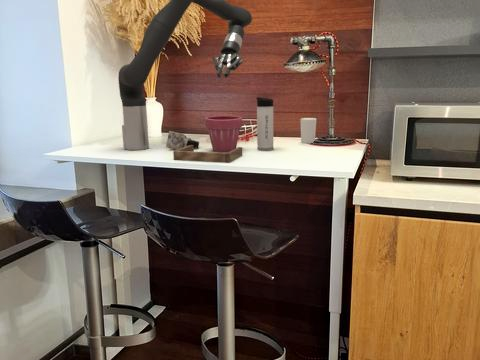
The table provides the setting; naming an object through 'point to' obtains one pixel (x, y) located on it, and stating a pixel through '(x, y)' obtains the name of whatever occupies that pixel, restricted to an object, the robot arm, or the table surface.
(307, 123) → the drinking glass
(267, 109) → the travel mug
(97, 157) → the table surface
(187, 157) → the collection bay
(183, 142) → the caster wheel
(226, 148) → the plant pot
